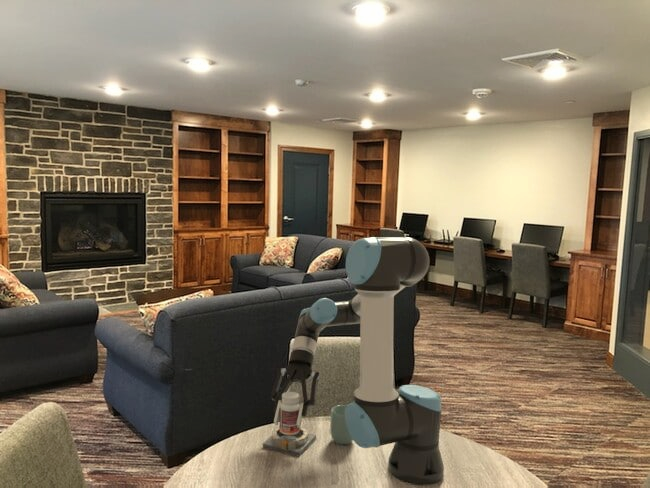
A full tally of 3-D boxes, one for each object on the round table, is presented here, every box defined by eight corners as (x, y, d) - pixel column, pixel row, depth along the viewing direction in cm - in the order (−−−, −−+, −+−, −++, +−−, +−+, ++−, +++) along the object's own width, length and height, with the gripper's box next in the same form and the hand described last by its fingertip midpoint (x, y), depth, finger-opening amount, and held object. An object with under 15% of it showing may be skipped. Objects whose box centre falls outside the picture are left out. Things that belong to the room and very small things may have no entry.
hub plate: (316, 438, 166) (316, 428, 166) (299, 457, 155) (299, 446, 154) (280, 430, 170) (281, 421, 170) (261, 448, 159) (262, 437, 159)
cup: (360, 440, 166) (361, 409, 165) (347, 450, 160) (348, 417, 158) (338, 433, 170) (339, 402, 169) (325, 442, 164) (326, 411, 163)
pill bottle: (303, 433, 161) (305, 396, 160) (285, 437, 158) (286, 400, 157) (293, 424, 166) (294, 389, 165) (275, 429, 163) (276, 392, 162)
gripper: (333, 362, 174) (320, 433, 160) (276, 356, 177) (258, 425, 163) (330, 351, 168) (317, 424, 154) (271, 345, 172) (253, 415, 158)
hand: (287, 424), depth 159 cm, fingers closed on pill bottle, 6 cm apart
